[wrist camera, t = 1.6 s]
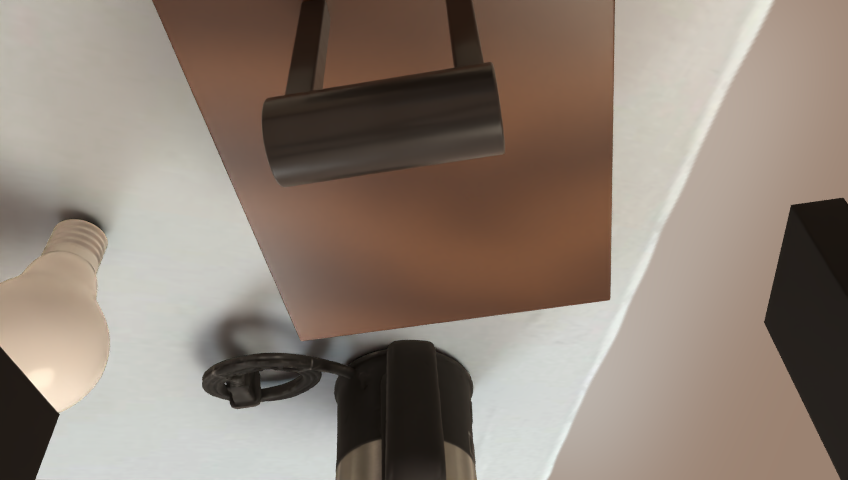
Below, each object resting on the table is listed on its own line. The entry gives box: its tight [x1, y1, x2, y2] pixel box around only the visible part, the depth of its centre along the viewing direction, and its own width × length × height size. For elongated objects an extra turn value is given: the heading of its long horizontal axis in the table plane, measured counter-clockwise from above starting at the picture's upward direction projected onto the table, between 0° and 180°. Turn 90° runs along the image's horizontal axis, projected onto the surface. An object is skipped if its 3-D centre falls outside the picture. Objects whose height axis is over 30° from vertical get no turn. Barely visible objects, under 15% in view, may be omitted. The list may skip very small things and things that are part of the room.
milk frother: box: [202, 340, 477, 480], centre depth 43 cm, size 14×16×15 cm
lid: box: [152, 0, 615, 341], centre depth 23 cm, size 17×13×8 cm
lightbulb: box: [0, 219, 110, 413], centre depth 35 cm, size 6×6×11 cm
